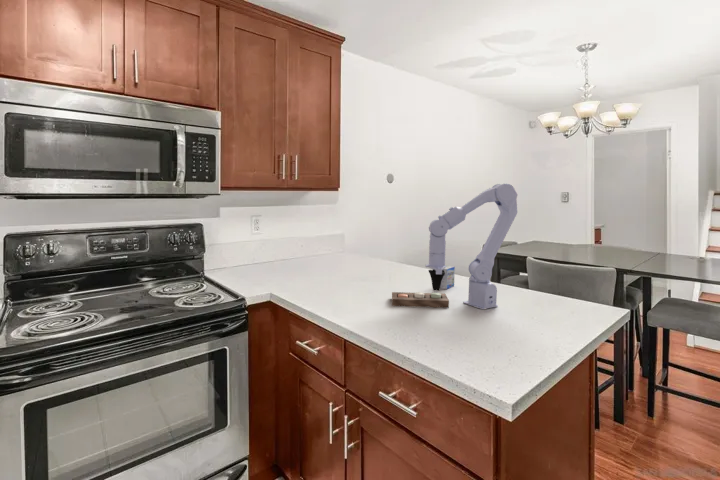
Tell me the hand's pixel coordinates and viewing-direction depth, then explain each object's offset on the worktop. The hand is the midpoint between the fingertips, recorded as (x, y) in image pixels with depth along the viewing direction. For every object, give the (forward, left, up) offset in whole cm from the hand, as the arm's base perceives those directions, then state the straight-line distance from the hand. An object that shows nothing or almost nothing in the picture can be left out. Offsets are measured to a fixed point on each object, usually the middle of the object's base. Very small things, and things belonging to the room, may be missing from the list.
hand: (436, 290), depth 143 cm
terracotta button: (+7, +10, -6) cm, 13 cm away
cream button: (+3, +5, -5) cm, 8 cm away
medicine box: (+17, -21, -5) cm, 28 cm away
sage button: (0, 0, -5) cm, 5 cm away
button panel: (+3, +5, -5) cm, 8 cm away
